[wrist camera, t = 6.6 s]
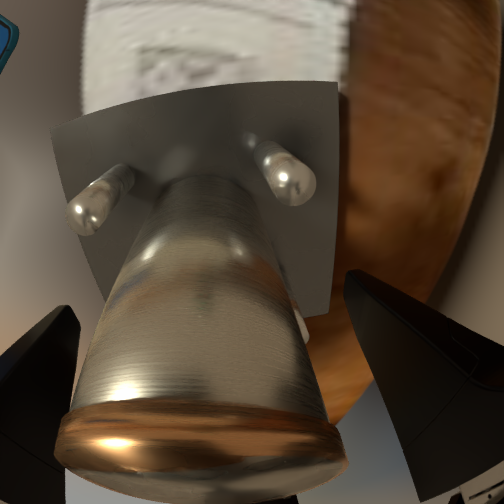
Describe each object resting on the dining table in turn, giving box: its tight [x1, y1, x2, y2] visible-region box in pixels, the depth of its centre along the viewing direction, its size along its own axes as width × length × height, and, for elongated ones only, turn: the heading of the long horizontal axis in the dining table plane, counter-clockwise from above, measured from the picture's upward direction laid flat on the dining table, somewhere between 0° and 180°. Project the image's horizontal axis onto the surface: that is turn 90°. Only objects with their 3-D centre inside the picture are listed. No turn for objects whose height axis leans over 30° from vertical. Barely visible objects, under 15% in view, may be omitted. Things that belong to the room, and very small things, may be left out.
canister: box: [54, 176, 349, 504], centre depth 8 cm, size 5×5×10 cm
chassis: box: [50, 81, 339, 344], centre depth 11 cm, size 12×12×5 cm
